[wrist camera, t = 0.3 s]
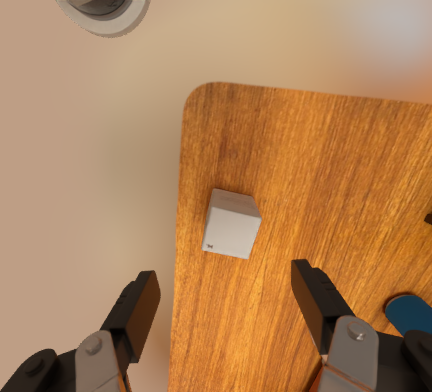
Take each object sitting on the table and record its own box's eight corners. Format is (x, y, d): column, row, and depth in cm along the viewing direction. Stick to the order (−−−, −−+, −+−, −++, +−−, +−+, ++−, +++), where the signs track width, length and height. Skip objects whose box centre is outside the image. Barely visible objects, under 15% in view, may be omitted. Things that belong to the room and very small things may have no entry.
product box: (242, 231, 32) (248, 261, 25) (204, 222, 31) (199, 251, 24) (253, 195, 29) (263, 218, 23) (213, 186, 29) (211, 206, 22)
